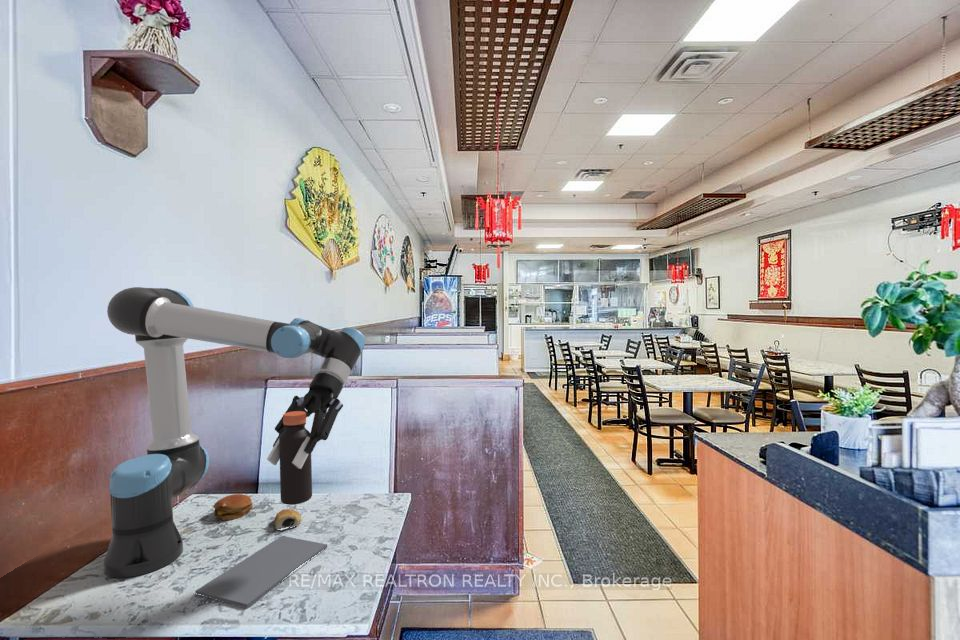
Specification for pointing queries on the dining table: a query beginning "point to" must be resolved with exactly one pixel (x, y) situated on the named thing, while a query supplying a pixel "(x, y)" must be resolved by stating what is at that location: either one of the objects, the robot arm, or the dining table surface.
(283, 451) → the vinegar
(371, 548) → the dining table surface
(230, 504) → the burger
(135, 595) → the dining table surface
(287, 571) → the mat
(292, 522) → the pastry
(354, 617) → the dining table surface
